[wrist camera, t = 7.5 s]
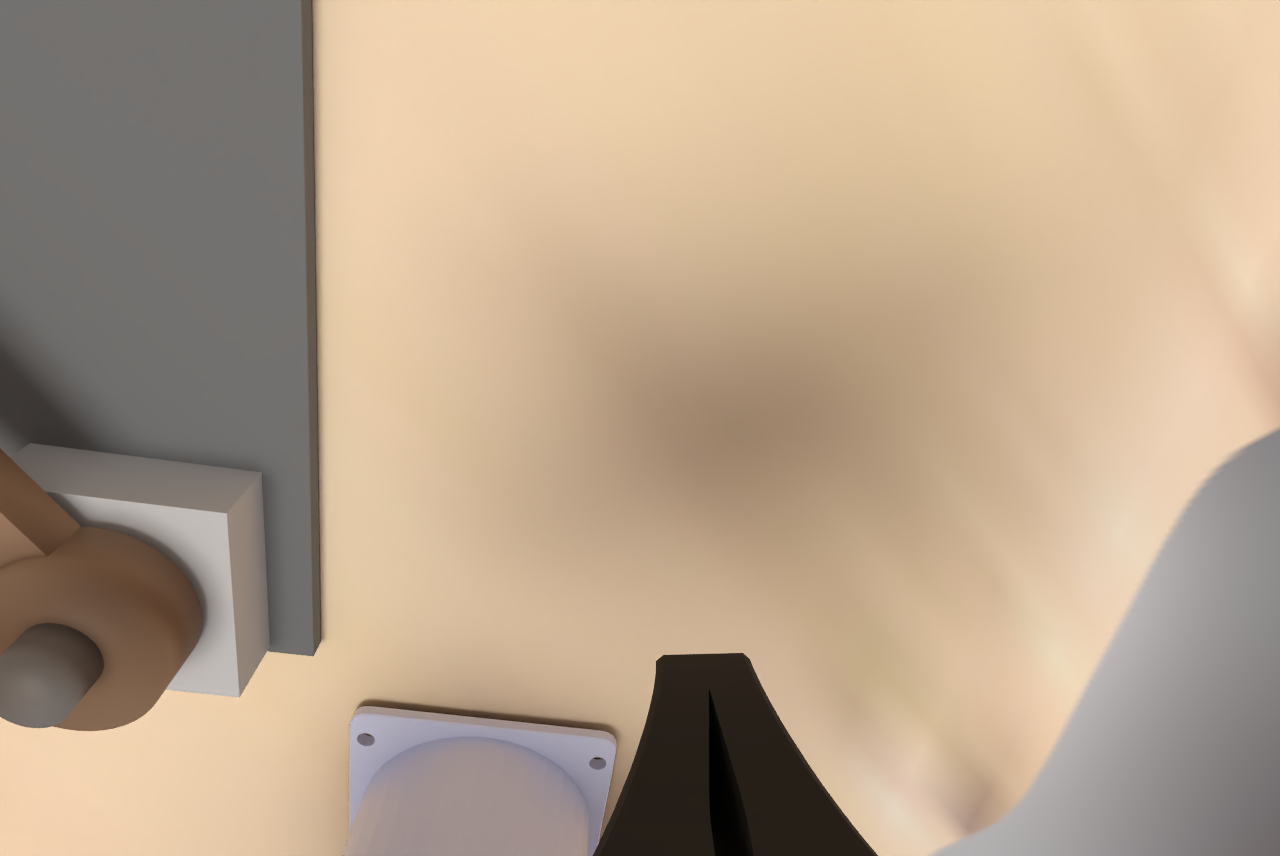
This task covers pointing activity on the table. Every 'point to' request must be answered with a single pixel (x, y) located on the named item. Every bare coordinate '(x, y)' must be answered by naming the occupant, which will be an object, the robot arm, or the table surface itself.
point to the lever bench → (169, 297)
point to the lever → (83, 616)
